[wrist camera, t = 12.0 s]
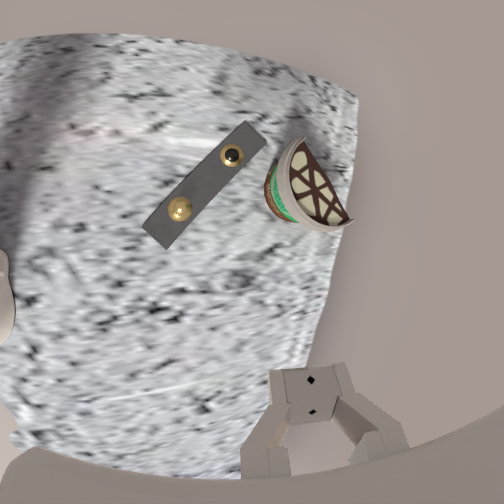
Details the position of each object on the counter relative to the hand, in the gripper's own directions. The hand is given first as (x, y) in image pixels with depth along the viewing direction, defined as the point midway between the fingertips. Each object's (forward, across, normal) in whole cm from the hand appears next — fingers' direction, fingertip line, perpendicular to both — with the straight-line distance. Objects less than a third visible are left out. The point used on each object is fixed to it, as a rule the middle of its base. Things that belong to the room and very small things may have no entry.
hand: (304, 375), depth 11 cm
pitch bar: (+31, +7, 0) cm, 32 cm away
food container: (+33, -3, +4) cm, 33 cm away
